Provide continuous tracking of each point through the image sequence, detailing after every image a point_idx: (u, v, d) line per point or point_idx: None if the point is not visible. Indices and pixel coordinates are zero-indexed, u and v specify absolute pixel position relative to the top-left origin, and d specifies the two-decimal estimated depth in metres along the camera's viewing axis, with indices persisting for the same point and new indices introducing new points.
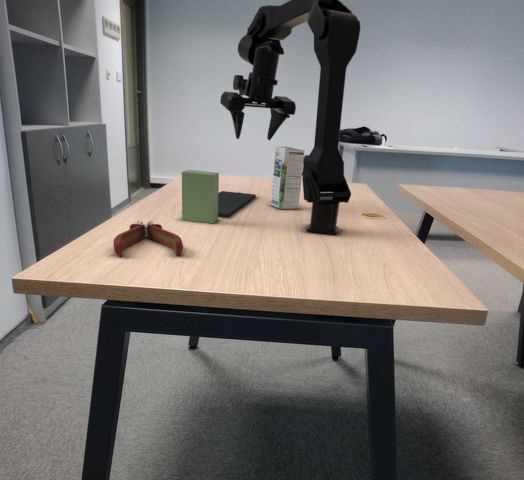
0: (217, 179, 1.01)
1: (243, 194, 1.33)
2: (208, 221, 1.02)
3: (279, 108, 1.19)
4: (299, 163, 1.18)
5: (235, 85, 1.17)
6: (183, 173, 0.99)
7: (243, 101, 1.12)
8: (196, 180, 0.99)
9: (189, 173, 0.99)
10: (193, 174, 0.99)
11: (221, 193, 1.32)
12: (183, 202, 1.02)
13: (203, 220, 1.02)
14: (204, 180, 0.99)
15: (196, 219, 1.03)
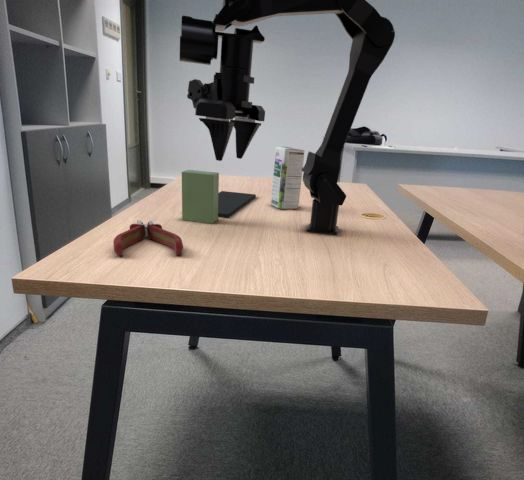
0: (217, 179, 1.01)
1: (243, 194, 1.33)
2: (208, 221, 1.02)
3: (248, 116, 0.94)
4: (300, 163, 1.18)
5: (195, 93, 0.87)
6: (183, 173, 0.99)
7: (232, 106, 0.84)
8: (196, 180, 0.99)
9: (189, 173, 0.99)
10: (193, 174, 0.99)
11: (221, 193, 1.32)
12: (183, 202, 1.02)
13: (203, 220, 1.02)
14: (204, 180, 0.99)
15: (196, 219, 1.03)
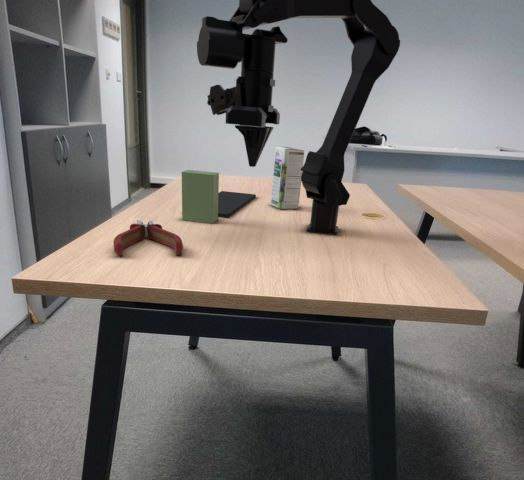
0: (217, 179, 1.01)
1: (243, 194, 1.33)
2: (208, 221, 1.02)
3: None
4: (300, 163, 1.18)
5: (218, 99, 0.82)
6: (183, 173, 0.99)
7: (264, 112, 0.80)
8: (196, 180, 0.99)
9: (189, 173, 0.99)
10: (193, 174, 0.99)
11: (221, 193, 1.32)
12: (183, 202, 1.02)
13: (203, 220, 1.02)
14: (204, 180, 0.99)
15: (196, 219, 1.03)
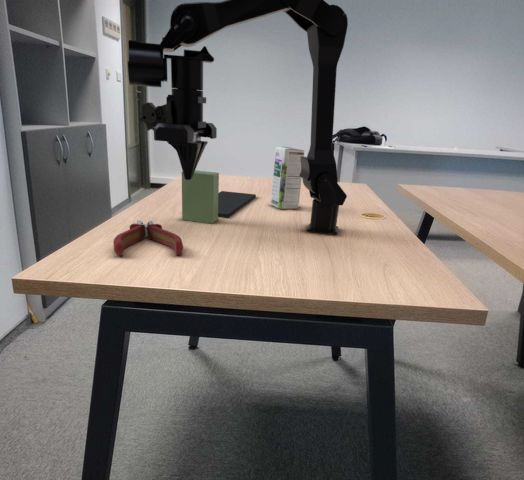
0: (217, 179, 1.01)
1: (243, 194, 1.33)
2: (208, 221, 1.02)
3: None
4: (300, 163, 1.18)
5: (149, 116, 0.85)
6: None
7: (191, 128, 0.83)
8: (196, 180, 0.99)
9: None
10: (193, 174, 0.99)
11: (221, 193, 1.32)
12: (183, 202, 1.02)
13: (203, 220, 1.02)
14: (204, 180, 0.99)
15: (196, 219, 1.03)
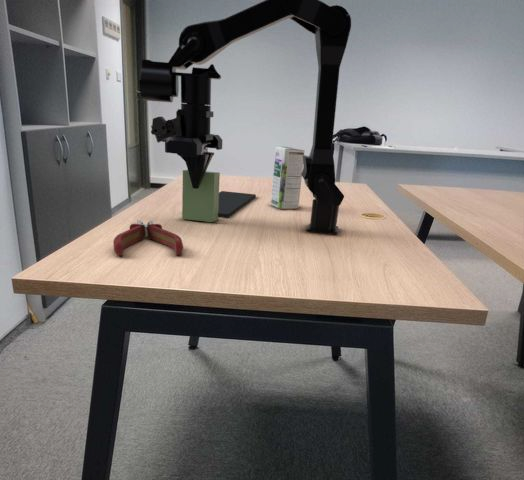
0: (218, 179, 1.01)
1: (243, 194, 1.33)
2: (208, 220, 1.02)
3: None
4: (300, 163, 1.18)
5: (160, 130, 0.91)
6: (184, 172, 0.99)
7: (200, 141, 0.89)
8: None
9: None
10: None
11: (221, 193, 1.32)
12: (183, 201, 1.02)
13: (203, 219, 1.02)
14: (205, 178, 0.99)
15: (196, 218, 1.03)
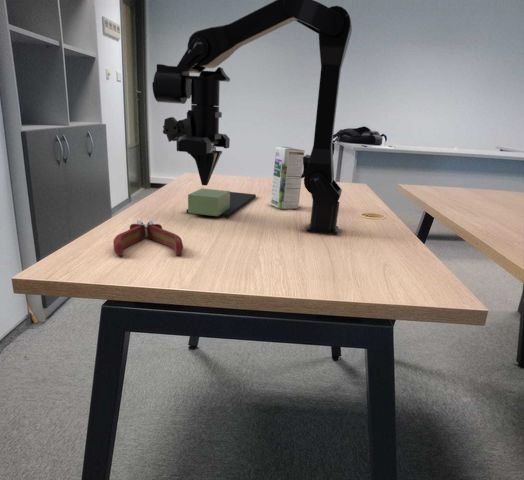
0: (228, 204, 1.13)
1: (243, 194, 1.33)
2: (214, 197, 1.04)
3: None
4: (300, 163, 1.18)
5: (171, 129, 0.96)
6: (203, 188, 1.13)
7: (209, 140, 0.94)
8: (213, 190, 1.12)
9: (208, 189, 1.13)
10: (212, 189, 1.13)
11: None
12: (195, 192, 1.08)
13: (209, 196, 1.04)
14: (220, 191, 1.11)
15: (202, 195, 1.04)
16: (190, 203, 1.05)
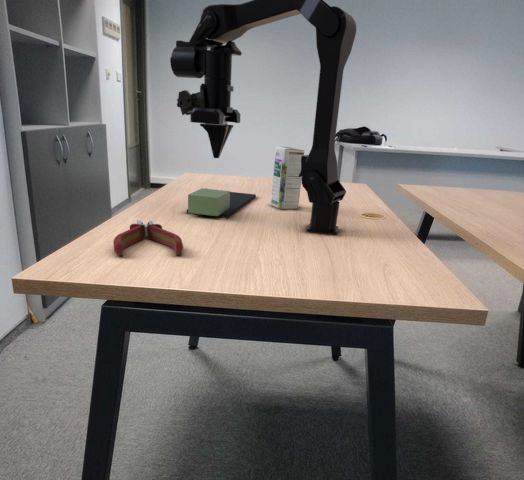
0: (228, 204, 1.13)
1: (243, 194, 1.33)
2: (214, 197, 1.04)
3: None
4: (300, 163, 1.18)
5: (185, 102, 1.00)
6: (203, 188, 1.13)
7: (222, 112, 0.98)
8: (213, 190, 1.12)
9: (208, 189, 1.13)
10: (212, 189, 1.13)
11: None
12: (195, 192, 1.08)
13: (209, 196, 1.04)
14: (220, 191, 1.11)
15: (202, 195, 1.04)
16: (190, 203, 1.05)
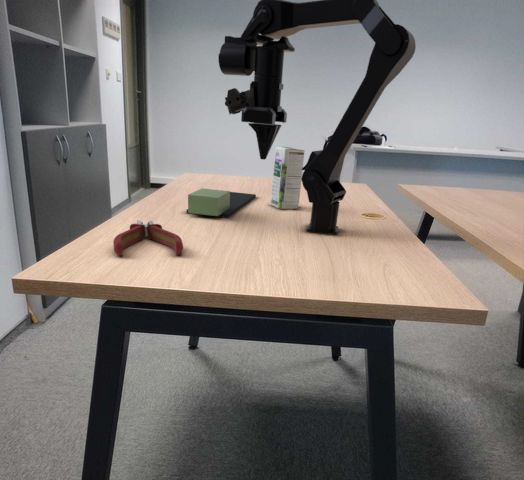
0: (228, 204, 1.13)
1: (243, 194, 1.33)
2: (214, 197, 1.04)
3: None
4: (300, 163, 1.18)
5: (234, 101, 0.95)
6: (203, 188, 1.13)
7: (274, 111, 0.93)
8: (213, 190, 1.12)
9: (208, 189, 1.13)
10: (212, 189, 1.13)
11: None
12: (195, 192, 1.08)
13: (209, 196, 1.04)
14: (220, 191, 1.11)
15: (202, 195, 1.04)
16: (190, 203, 1.05)
